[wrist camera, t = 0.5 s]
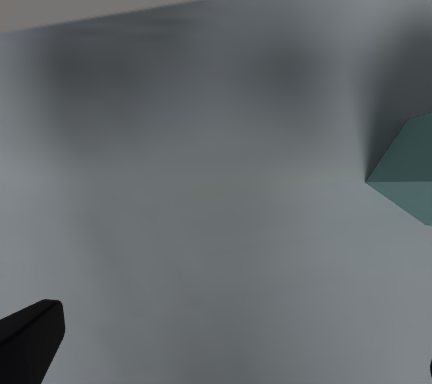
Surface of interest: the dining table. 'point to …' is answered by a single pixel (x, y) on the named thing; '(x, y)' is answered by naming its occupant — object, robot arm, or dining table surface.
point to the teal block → (408, 169)
